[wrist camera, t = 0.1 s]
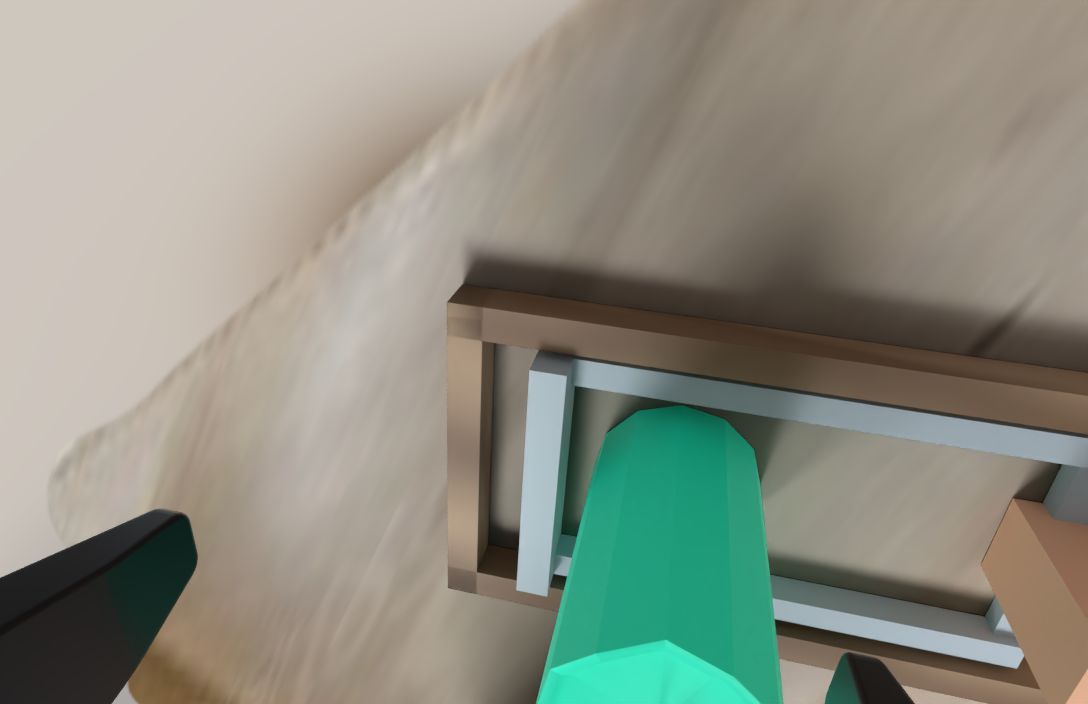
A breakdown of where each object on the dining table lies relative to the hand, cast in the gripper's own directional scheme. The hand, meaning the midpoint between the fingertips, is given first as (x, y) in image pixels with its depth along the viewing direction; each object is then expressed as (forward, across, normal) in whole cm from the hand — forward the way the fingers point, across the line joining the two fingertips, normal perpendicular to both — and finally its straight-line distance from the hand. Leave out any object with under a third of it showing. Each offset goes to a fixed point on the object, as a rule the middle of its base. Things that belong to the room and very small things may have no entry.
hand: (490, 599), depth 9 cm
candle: (+15, -3, +8) cm, 17 cm away
